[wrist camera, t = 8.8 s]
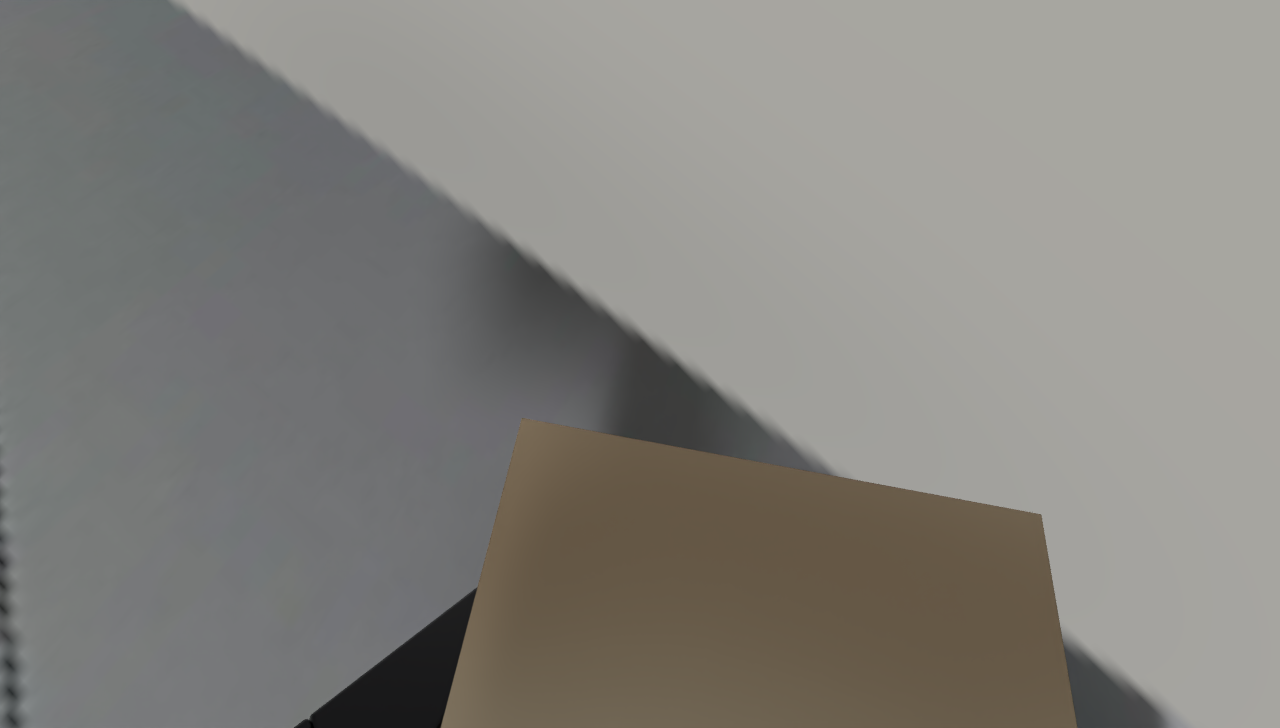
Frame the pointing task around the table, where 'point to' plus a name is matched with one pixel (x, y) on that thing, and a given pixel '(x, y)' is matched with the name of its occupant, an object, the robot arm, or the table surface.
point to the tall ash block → (750, 599)
